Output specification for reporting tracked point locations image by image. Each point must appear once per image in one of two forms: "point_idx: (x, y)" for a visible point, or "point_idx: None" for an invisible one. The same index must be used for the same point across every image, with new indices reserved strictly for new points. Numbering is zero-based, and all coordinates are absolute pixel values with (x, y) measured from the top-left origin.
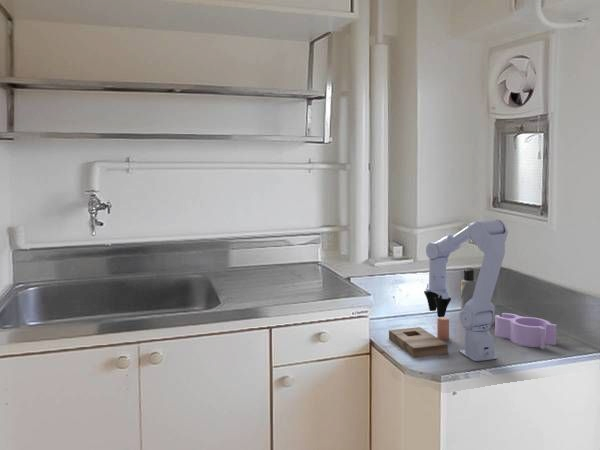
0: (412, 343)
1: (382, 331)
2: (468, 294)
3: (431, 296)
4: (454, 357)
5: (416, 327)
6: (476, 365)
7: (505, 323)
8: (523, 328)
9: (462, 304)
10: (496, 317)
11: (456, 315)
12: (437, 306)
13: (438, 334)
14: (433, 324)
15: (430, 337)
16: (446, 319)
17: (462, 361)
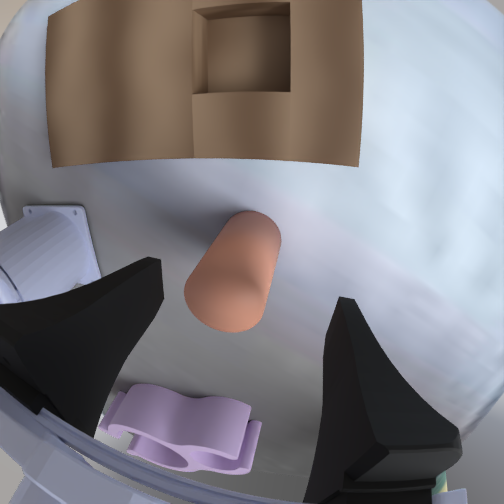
0: (89, 13)
1: (473, 21)
2: None
3: (341, 432)
4: (50, 163)
5: (359, 140)
6: (12, 196)
7: (188, 434)
8: (117, 419)
9: None
10: (216, 447)
11: (455, 407)
12: (70, 293)
13: (240, 221)
14: (450, 312)
15: (139, 127)
16: (213, 314)
17: (28, 173)
